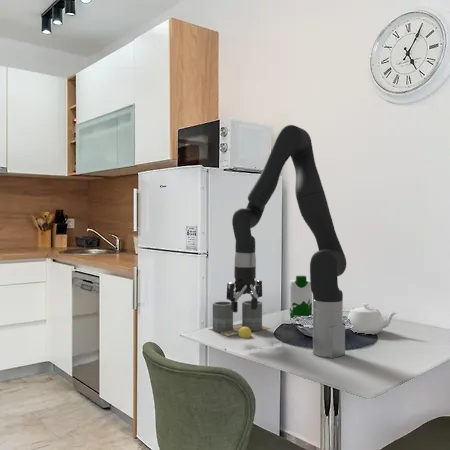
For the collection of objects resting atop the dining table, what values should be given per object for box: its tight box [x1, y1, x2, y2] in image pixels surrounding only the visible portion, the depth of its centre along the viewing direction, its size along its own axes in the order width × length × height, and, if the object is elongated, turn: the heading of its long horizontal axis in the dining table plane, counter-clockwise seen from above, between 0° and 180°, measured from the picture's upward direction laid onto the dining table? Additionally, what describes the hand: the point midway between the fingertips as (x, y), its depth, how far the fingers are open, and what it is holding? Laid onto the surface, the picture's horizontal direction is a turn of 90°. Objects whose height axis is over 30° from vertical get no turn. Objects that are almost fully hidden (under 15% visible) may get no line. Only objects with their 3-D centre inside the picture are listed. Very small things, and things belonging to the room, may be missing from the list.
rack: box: [208, 300, 272, 338], centre depth 178 cm, size 13×20×11 cm, turn 126°
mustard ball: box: [238, 327, 252, 339], centre depth 167 cm, size 5×5×5 cm
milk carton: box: [289, 275, 313, 319], centre depth 188 cm, size 9×9×20 cm
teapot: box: [343, 302, 398, 335], centre depth 178 cm, size 22×14×11 cm, turn 59°
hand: (244, 310), depth 167 cm, fingers open, 8 cm apart
